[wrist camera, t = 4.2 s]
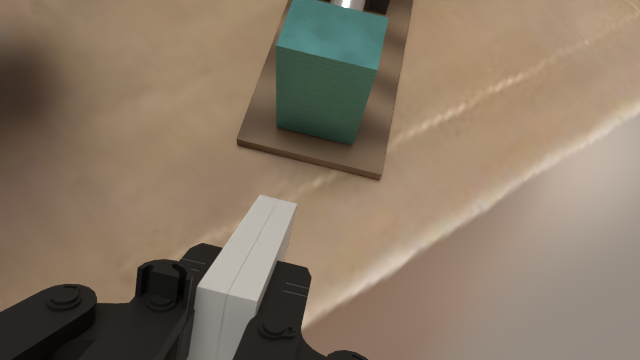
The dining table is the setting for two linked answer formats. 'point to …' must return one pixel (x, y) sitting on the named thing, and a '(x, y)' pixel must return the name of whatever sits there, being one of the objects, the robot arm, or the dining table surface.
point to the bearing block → (375, 6)
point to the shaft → (327, 67)
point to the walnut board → (374, 123)
